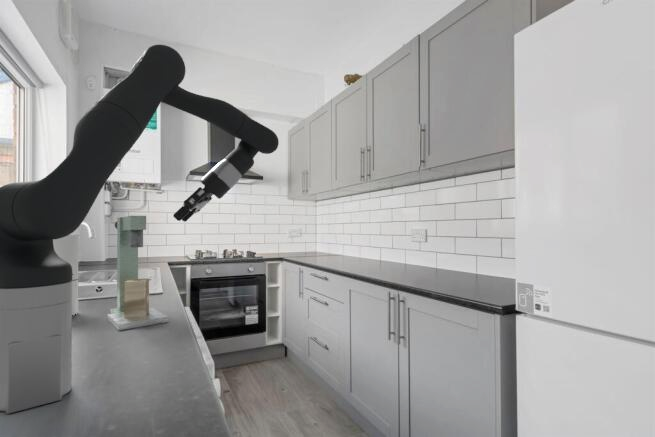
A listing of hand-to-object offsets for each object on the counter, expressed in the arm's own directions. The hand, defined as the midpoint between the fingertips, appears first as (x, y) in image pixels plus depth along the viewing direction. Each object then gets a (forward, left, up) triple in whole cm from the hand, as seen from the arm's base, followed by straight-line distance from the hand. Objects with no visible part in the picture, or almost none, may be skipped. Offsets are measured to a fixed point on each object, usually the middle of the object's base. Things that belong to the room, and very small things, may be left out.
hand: (179, 219), depth 96 cm
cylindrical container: (+37, +23, -29) cm, 52 cm away
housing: (+12, +8, -27) cm, 31 cm away
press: (+21, +8, -29) cm, 36 cm away
